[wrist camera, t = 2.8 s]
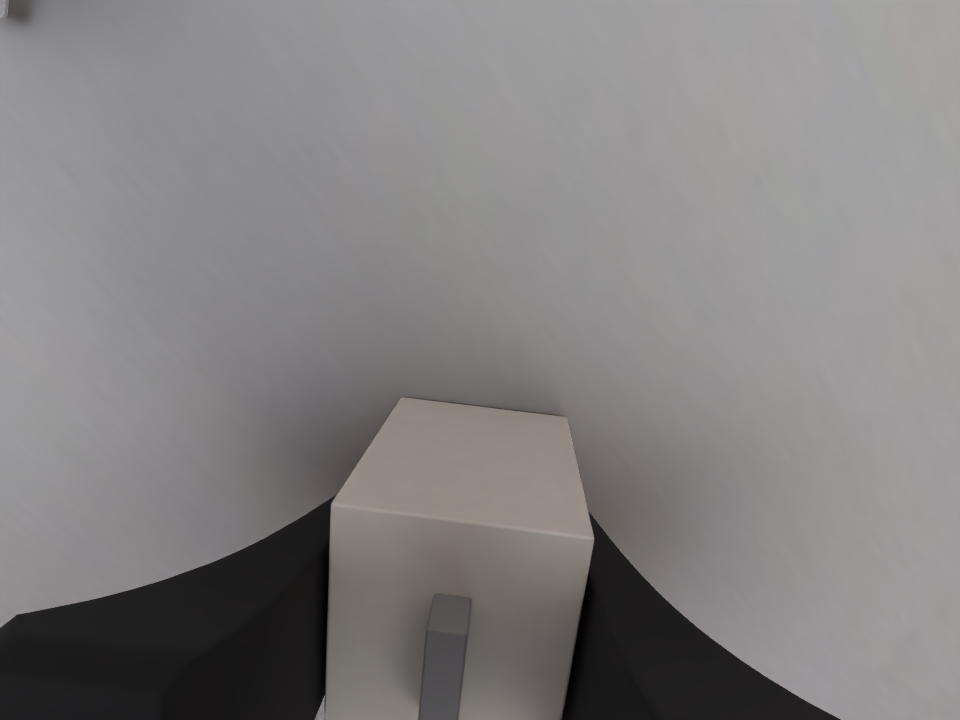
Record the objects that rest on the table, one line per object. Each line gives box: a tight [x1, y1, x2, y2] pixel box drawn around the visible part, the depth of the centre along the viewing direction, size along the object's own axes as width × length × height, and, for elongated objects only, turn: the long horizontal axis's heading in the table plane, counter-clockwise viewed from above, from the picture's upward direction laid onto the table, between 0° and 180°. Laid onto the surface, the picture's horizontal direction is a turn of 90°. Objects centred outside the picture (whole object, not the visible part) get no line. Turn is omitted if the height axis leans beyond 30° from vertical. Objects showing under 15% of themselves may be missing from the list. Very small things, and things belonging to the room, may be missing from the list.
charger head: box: [324, 397, 594, 720], centre depth 11 cm, size 4×5×6 cm
